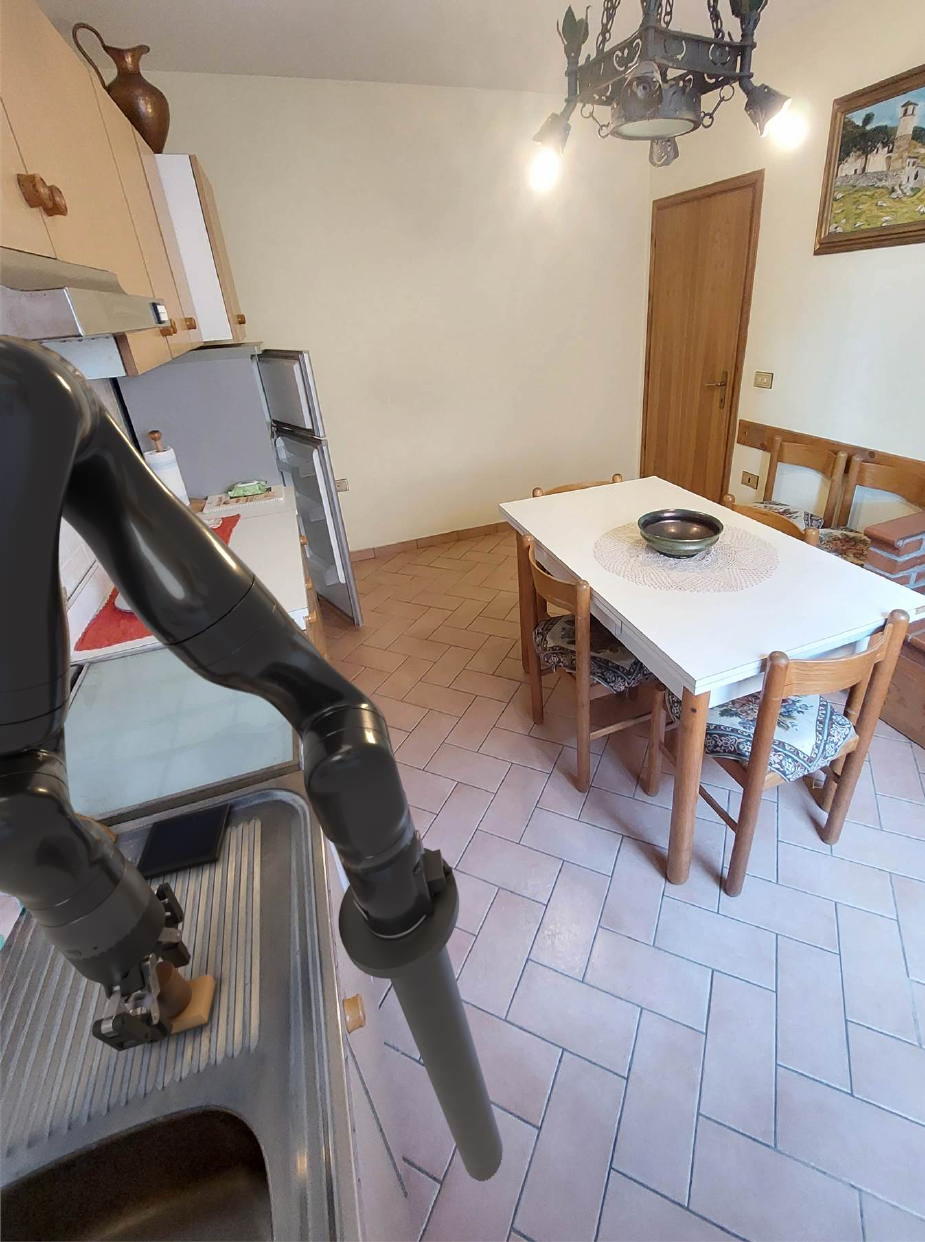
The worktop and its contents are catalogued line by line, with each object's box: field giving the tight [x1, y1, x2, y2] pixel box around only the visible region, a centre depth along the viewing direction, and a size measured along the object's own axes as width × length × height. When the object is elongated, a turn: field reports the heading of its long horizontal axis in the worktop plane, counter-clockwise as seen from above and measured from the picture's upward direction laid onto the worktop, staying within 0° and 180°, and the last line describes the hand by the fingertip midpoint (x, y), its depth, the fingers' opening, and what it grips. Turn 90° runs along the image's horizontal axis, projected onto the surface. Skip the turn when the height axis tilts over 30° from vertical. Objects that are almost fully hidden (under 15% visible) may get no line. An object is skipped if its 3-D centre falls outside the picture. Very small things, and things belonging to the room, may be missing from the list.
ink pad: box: [135, 803, 232, 881], centre depth 81 cm, size 11×9×1 cm
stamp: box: [139, 960, 218, 1039], centre depth 60 cm, size 6×4×8 cm, turn 103°
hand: (172, 997), depth 60 cm, fingers open, 6 cm apart
